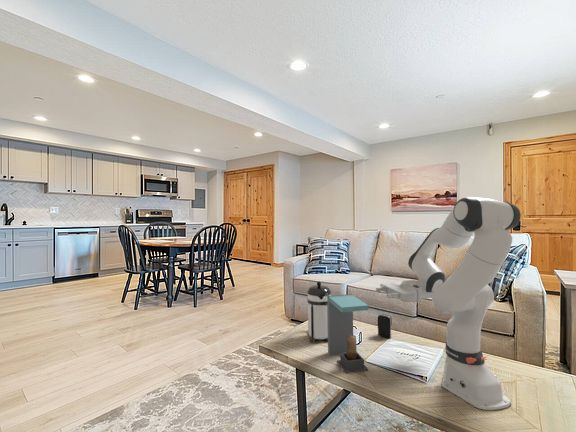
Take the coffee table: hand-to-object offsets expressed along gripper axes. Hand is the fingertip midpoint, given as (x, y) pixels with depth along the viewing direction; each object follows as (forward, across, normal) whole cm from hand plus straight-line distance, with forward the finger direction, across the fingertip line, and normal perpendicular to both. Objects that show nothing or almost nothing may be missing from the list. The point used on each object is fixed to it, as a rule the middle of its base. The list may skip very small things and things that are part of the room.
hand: (381, 293), depth 133 cm
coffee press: (+21, -30, +30) cm, 47 cm away
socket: (+17, +3, +30) cm, 34 cm away
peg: (+17, +3, +29) cm, 33 cm away
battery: (-14, -22, +30) cm, 40 cm away
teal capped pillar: (+16, -2, +30) cm, 34 cm away
